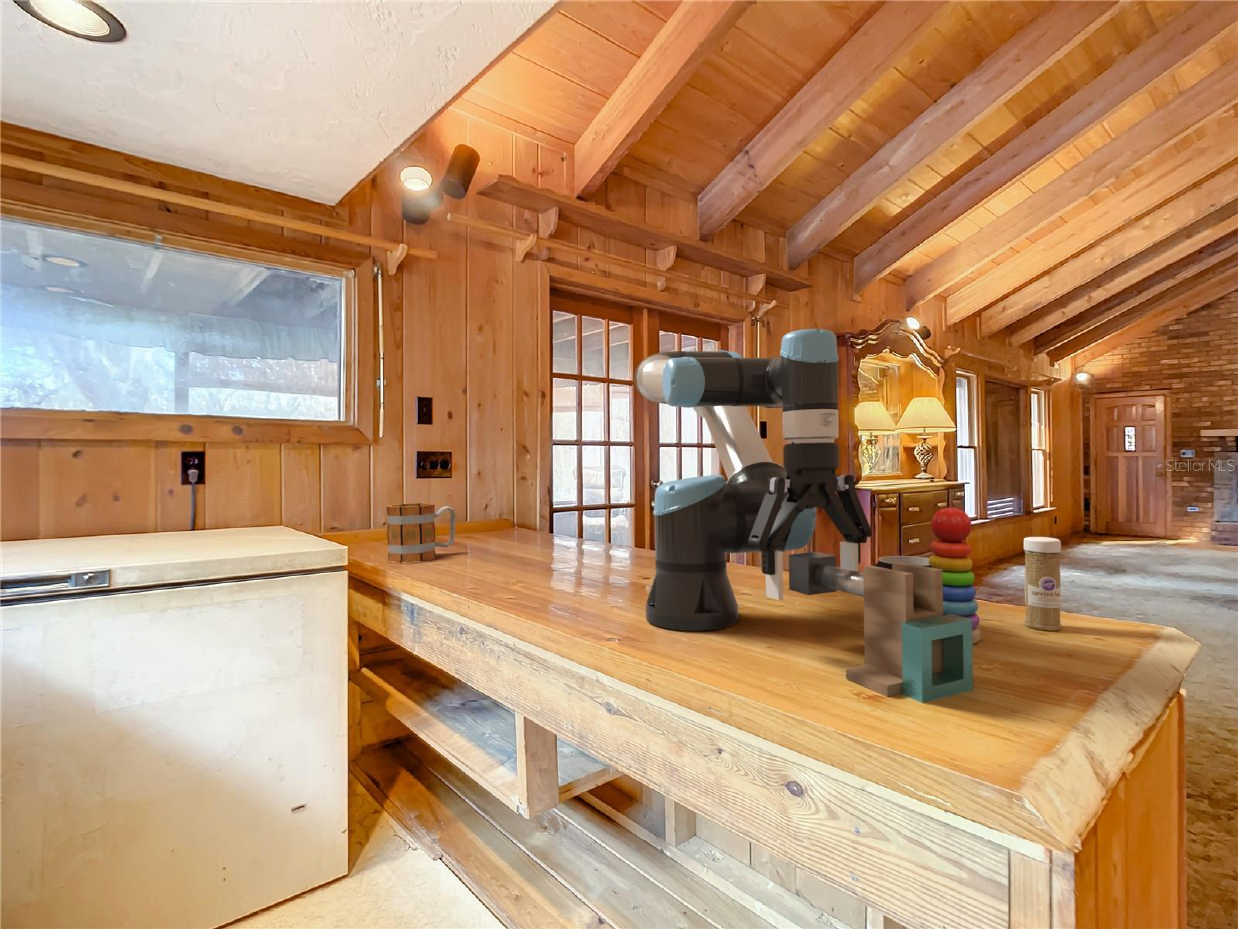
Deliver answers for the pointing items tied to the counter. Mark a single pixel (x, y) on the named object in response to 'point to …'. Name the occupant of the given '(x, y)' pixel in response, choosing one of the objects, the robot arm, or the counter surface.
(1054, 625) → the sprinkles bottle
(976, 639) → the stacking toy
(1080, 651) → the counter surface
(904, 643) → the spacer
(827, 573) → the shaft
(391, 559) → the mug
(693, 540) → the robot arm
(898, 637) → the bearing block
